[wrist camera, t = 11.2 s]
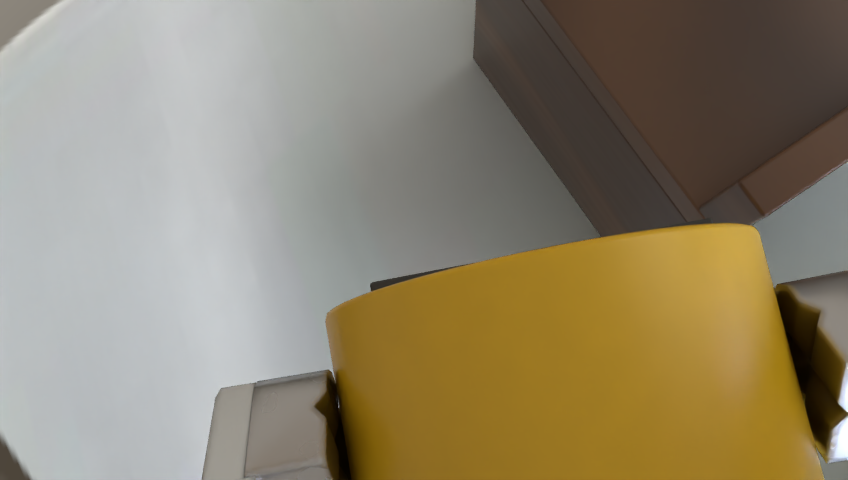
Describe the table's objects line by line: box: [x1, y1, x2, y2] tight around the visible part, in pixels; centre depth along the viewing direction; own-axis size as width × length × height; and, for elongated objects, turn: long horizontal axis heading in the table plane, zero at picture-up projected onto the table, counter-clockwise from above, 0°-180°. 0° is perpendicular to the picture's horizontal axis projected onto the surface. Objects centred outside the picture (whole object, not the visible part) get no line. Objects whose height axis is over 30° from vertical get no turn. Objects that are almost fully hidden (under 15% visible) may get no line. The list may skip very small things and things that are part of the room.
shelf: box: [473, 0, 848, 237], centre depth 25 cm, size 11×11×13 cm
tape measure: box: [325, 218, 824, 480], centre depth 12 cm, size 7×4×7 cm, turn 101°
